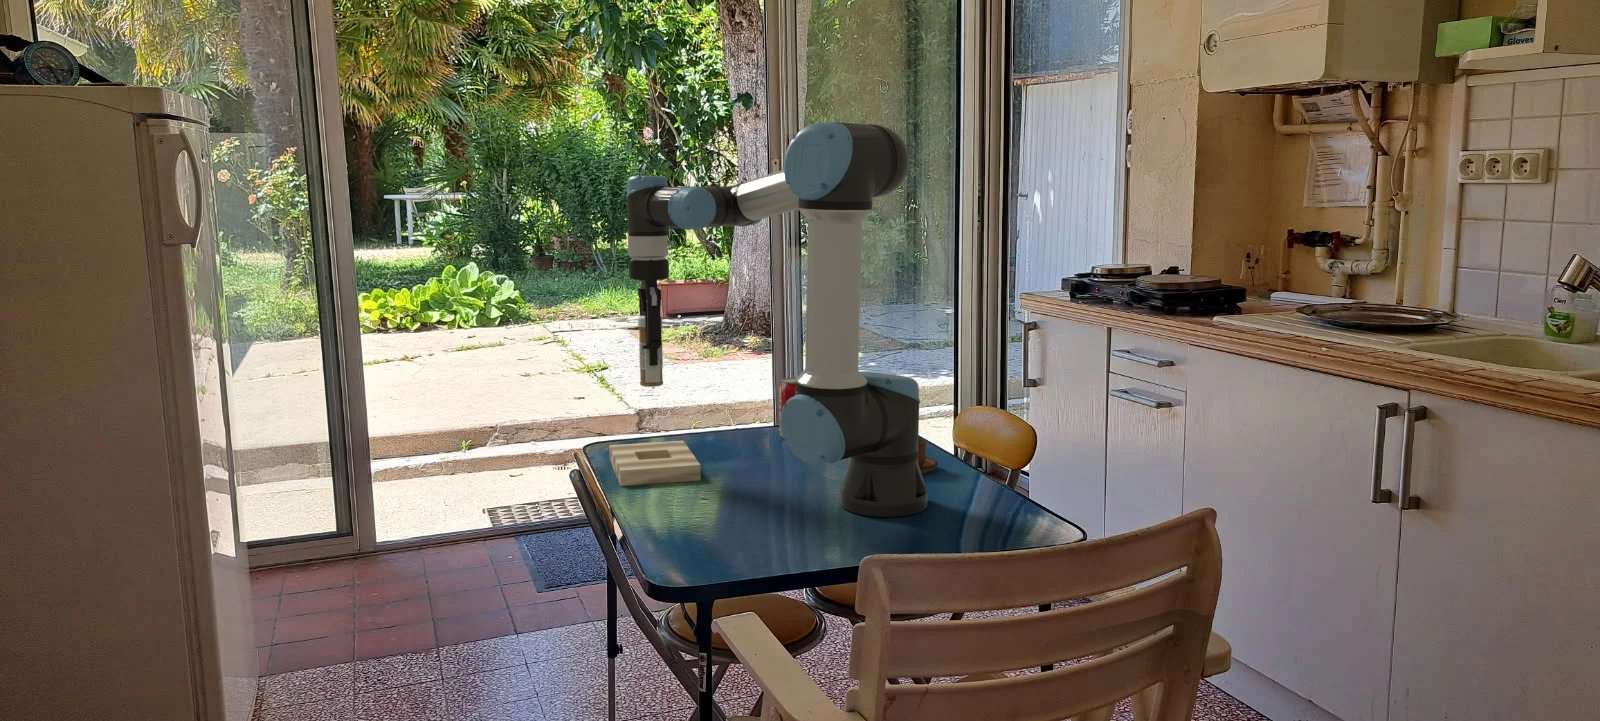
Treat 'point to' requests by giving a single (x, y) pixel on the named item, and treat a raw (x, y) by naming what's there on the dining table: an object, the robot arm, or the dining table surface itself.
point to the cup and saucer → (925, 458)
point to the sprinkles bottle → (642, 355)
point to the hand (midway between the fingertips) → (651, 379)
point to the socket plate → (654, 463)
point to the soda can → (786, 395)
